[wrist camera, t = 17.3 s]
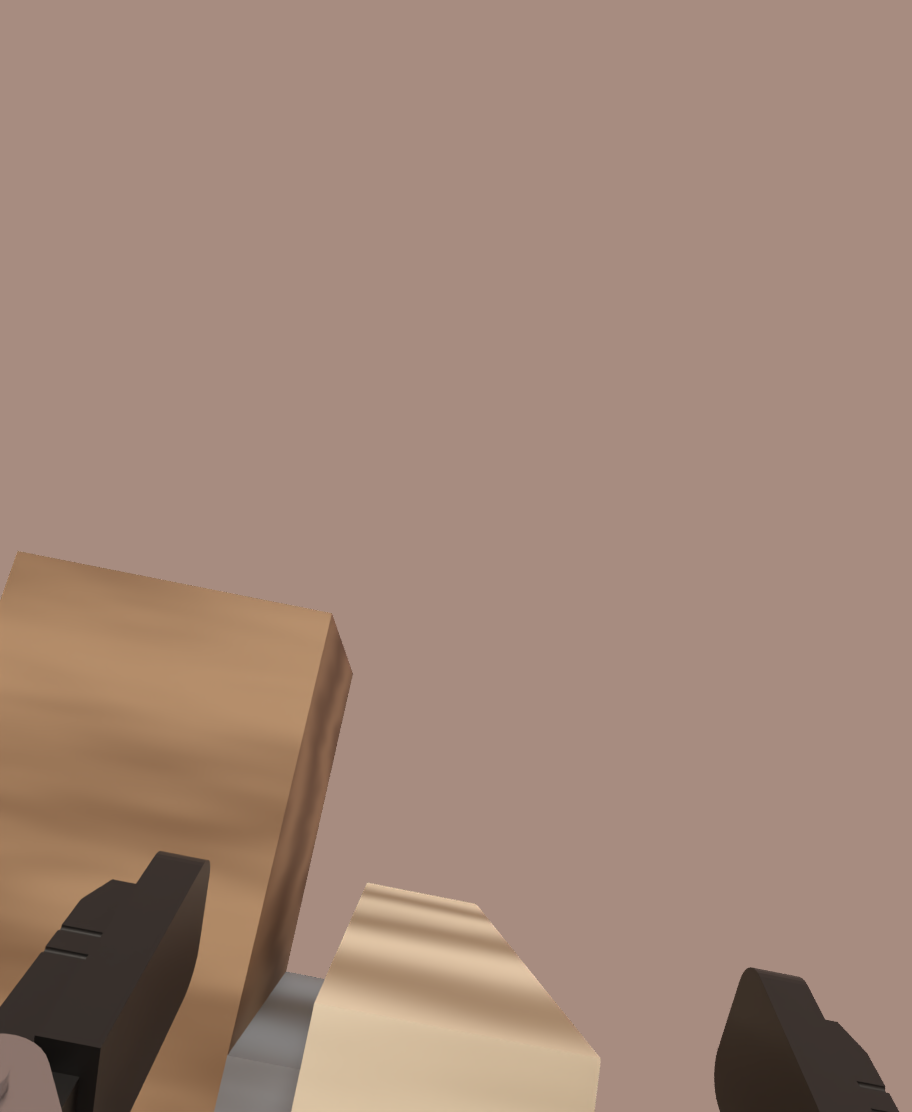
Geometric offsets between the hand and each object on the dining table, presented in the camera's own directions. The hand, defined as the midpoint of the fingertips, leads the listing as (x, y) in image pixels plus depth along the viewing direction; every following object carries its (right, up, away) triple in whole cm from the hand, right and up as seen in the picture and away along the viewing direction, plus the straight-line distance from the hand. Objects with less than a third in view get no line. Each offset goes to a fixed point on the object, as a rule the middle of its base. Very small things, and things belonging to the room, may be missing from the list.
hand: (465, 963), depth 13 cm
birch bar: (-1, -6, +8) cm, 10 cm away
